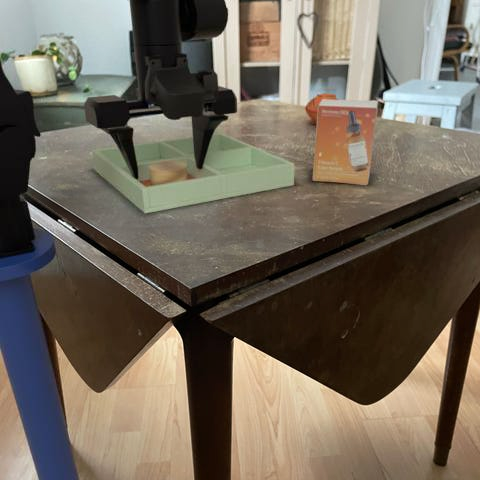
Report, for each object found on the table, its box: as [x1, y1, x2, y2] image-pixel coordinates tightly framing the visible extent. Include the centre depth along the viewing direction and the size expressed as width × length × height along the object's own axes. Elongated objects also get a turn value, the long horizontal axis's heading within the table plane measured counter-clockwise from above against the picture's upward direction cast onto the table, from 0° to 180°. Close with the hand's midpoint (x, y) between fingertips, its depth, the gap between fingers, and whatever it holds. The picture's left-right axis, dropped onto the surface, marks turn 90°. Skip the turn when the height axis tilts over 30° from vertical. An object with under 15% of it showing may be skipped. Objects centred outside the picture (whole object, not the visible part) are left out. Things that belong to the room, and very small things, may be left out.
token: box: [149, 161, 188, 186], centre depth 73 cm, size 5×5×3 cm
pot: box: [304, 93, 339, 125], centre depth 108 cm, size 8×8×7 cm
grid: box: [91, 132, 296, 214], centre depth 80 cm, size 22×22×3 cm
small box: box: [312, 99, 379, 186], centre depth 76 cm, size 8×6×10 cm
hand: (168, 173), depth 73 cm, fingers open, 9 cm apart
